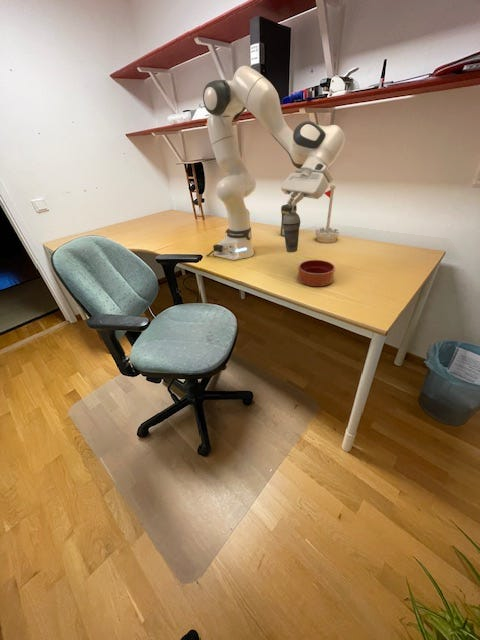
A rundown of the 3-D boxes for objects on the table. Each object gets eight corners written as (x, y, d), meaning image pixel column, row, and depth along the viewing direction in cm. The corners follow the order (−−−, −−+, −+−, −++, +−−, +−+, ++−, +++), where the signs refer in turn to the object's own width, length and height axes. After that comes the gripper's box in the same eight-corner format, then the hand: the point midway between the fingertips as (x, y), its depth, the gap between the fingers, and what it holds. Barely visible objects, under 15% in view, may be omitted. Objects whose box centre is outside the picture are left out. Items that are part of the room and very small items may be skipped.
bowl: (293, 284, 108) (294, 271, 105) (302, 270, 119) (303, 258, 116) (329, 289, 103) (332, 276, 99) (335, 274, 113) (337, 261, 110)
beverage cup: (288, 247, 112) (286, 197, 101) (303, 248, 108) (303, 197, 97) (280, 252, 108) (277, 201, 97) (296, 254, 104) (295, 201, 93)
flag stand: (342, 239, 151) (351, 182, 134) (328, 244, 145) (336, 185, 128) (324, 234, 160) (330, 181, 142) (310, 240, 154) (315, 184, 136)
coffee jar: (288, 231, 170) (289, 201, 160) (297, 233, 165) (299, 202, 155) (278, 235, 166) (278, 204, 155) (287, 237, 160) (288, 205, 150)
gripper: (290, 165, 100) (269, 196, 102) (329, 166, 85) (304, 202, 87) (298, 176, 104) (278, 206, 106) (336, 179, 89) (313, 213, 91)
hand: (290, 204), depth 97 cm, fingers closed on beverage cup
